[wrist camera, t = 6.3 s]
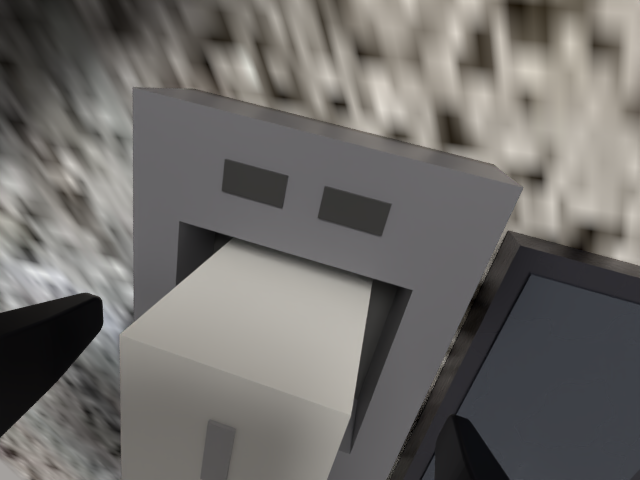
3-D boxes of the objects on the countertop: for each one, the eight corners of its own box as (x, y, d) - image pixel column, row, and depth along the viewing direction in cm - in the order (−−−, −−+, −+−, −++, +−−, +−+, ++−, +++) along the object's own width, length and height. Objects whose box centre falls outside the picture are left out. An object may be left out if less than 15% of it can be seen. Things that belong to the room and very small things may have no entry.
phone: (533, 558, 14) (543, 593, 13) (379, 502, 14) (377, 531, 13) (760, 298, 9) (805, 324, 8) (508, 230, 9) (521, 246, 8)
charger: (339, 374, 12) (298, 555, 7) (226, 336, 12) (119, 484, 8) (374, 270, 10) (350, 418, 5) (241, 230, 10) (115, 337, 6)
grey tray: (372, 453, 13) (366, 525, 11) (175, 384, 14) (132, 438, 12) (493, 164, 9) (525, 188, 7) (193, 88, 10) (130, 87, 7)
